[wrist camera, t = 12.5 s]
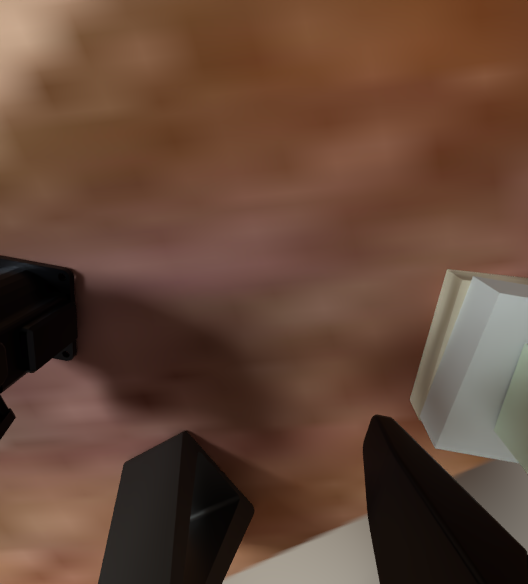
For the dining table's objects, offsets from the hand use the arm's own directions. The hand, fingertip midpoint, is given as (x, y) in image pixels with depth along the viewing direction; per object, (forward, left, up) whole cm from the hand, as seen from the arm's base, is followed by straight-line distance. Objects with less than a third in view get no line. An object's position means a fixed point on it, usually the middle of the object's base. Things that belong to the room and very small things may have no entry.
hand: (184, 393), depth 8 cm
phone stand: (-2, -19, -13) cm, 23 cm away
